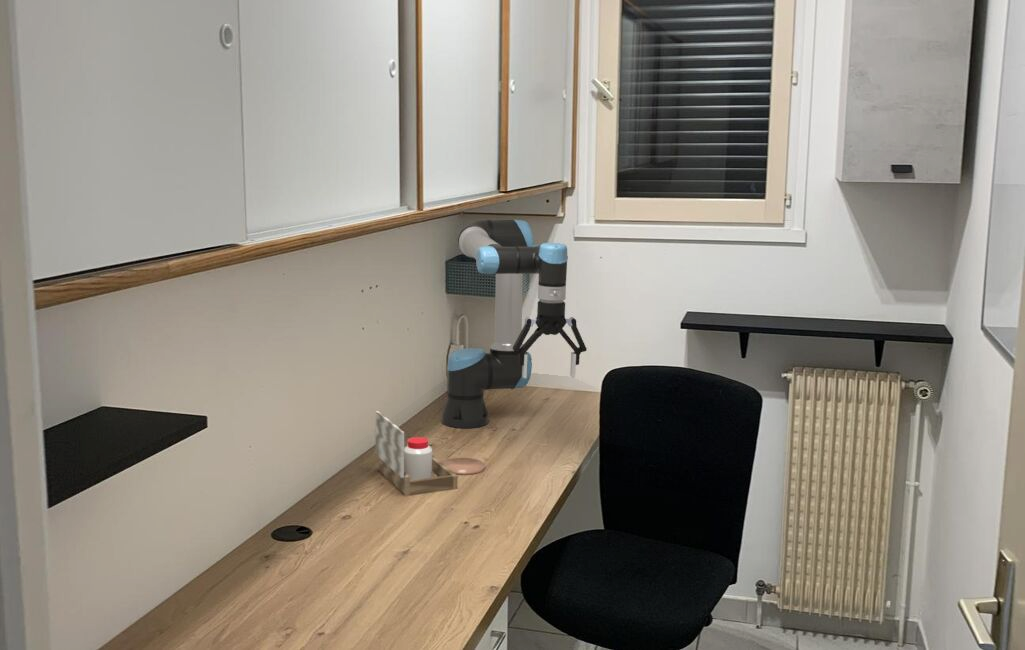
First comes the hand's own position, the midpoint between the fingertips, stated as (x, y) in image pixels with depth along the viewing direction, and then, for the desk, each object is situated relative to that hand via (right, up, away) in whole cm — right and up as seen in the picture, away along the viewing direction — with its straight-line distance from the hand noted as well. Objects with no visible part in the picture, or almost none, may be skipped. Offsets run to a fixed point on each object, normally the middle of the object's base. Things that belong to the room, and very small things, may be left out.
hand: (548, 376), depth 268 cm
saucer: (-24, -25, +3) cm, 35 cm away
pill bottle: (-35, -27, -7) cm, 45 cm away
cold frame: (-35, -27, -7) cm, 45 cm away
